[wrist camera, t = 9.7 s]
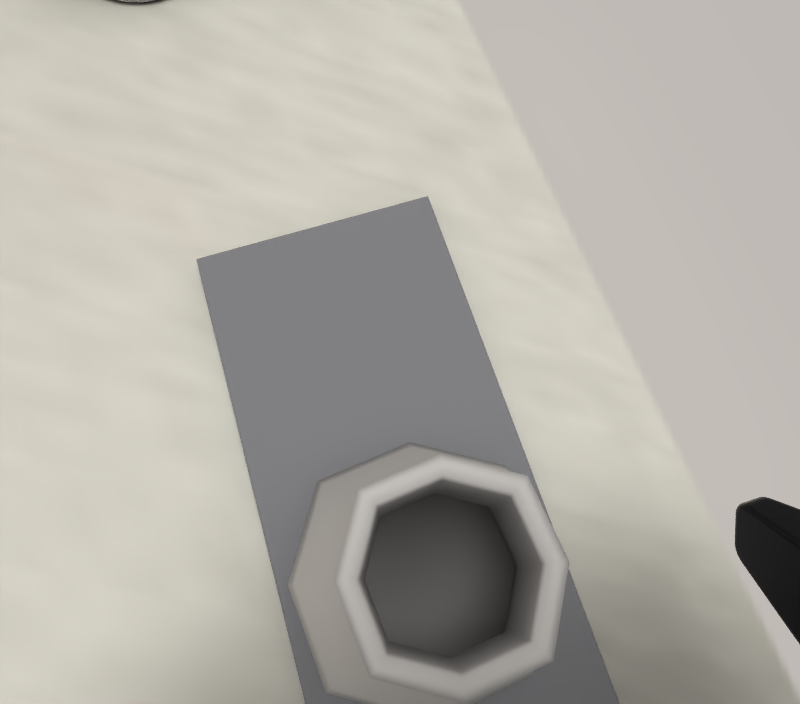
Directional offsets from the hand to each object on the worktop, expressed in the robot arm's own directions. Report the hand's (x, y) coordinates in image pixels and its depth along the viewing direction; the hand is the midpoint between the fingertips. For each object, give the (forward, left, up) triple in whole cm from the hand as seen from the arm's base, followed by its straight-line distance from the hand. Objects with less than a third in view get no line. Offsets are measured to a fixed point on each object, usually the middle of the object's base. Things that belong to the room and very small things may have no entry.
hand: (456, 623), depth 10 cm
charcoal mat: (+2, 0, -10) cm, 10 cm away
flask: (+1, 0, -9) cm, 9 cm away
